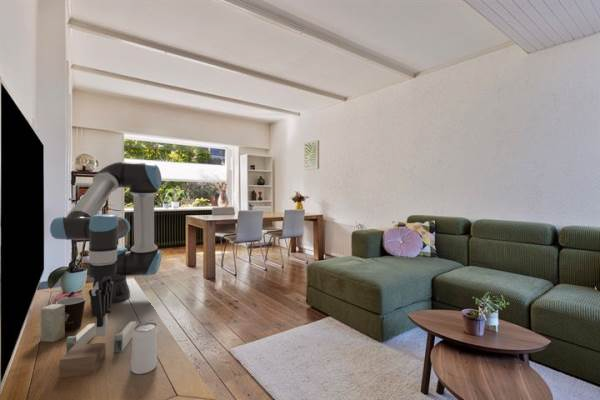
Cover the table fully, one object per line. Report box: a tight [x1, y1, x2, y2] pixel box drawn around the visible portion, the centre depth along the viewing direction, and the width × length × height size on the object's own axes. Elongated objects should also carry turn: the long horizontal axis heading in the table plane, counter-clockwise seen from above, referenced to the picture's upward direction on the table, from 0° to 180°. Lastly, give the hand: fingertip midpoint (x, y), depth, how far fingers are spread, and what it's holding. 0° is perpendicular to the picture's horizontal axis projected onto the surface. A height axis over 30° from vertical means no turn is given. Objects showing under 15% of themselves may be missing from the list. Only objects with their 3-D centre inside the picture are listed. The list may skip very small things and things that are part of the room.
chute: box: [65, 320, 137, 354], centre depth 97 cm, size 14×15×6 cm
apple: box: [53, 291, 84, 304], centre depth 117 cm, size 10×9×10 cm
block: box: [58, 342, 107, 378], centre depth 83 cm, size 8×8×5 cm
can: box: [130, 322, 159, 375], centre depth 84 cm, size 6×6×12 cm
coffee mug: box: [56, 296, 86, 333], centre depth 107 cm, size 12×9×10 cm
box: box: [40, 303, 66, 343], centre depth 99 cm, size 5×4×11 cm
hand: (101, 334), depth 94 cm, fingers closed
